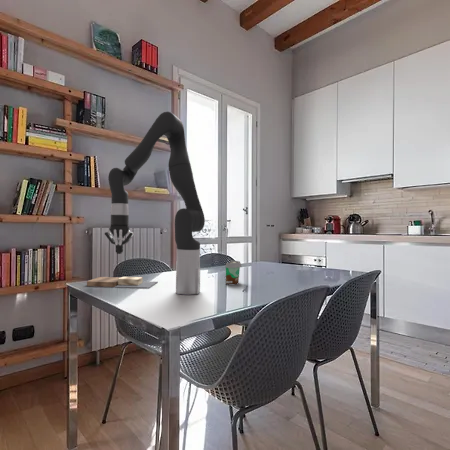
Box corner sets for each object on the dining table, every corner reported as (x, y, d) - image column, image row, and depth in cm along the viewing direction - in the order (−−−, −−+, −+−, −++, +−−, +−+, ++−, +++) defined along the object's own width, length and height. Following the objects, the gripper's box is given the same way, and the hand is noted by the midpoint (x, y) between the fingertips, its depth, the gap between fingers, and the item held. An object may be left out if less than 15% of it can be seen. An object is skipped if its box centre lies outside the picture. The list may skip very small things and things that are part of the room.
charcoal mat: (157, 282, 150) (157, 281, 150) (149, 288, 136) (149, 287, 136) (126, 281, 151) (126, 280, 151) (114, 287, 137) (114, 286, 137)
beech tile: (142, 282, 147) (142, 277, 147) (138, 285, 141) (138, 279, 141) (122, 282, 147) (122, 276, 147) (117, 284, 141) (117, 278, 141)
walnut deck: (124, 281, 150) (124, 277, 150) (114, 286, 138) (114, 282, 138) (99, 281, 151) (99, 276, 151) (86, 286, 139) (87, 281, 139)
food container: (238, 286, 146) (239, 263, 146) (225, 285, 147) (225, 263, 147) (242, 281, 158) (243, 260, 158) (230, 280, 160) (230, 260, 160)
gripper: (137, 214, 147) (136, 253, 147) (108, 214, 148) (107, 252, 148) (131, 214, 140) (131, 254, 140) (101, 213, 140) (100, 254, 140)
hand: (119, 253), depth 144 cm, fingers closed
